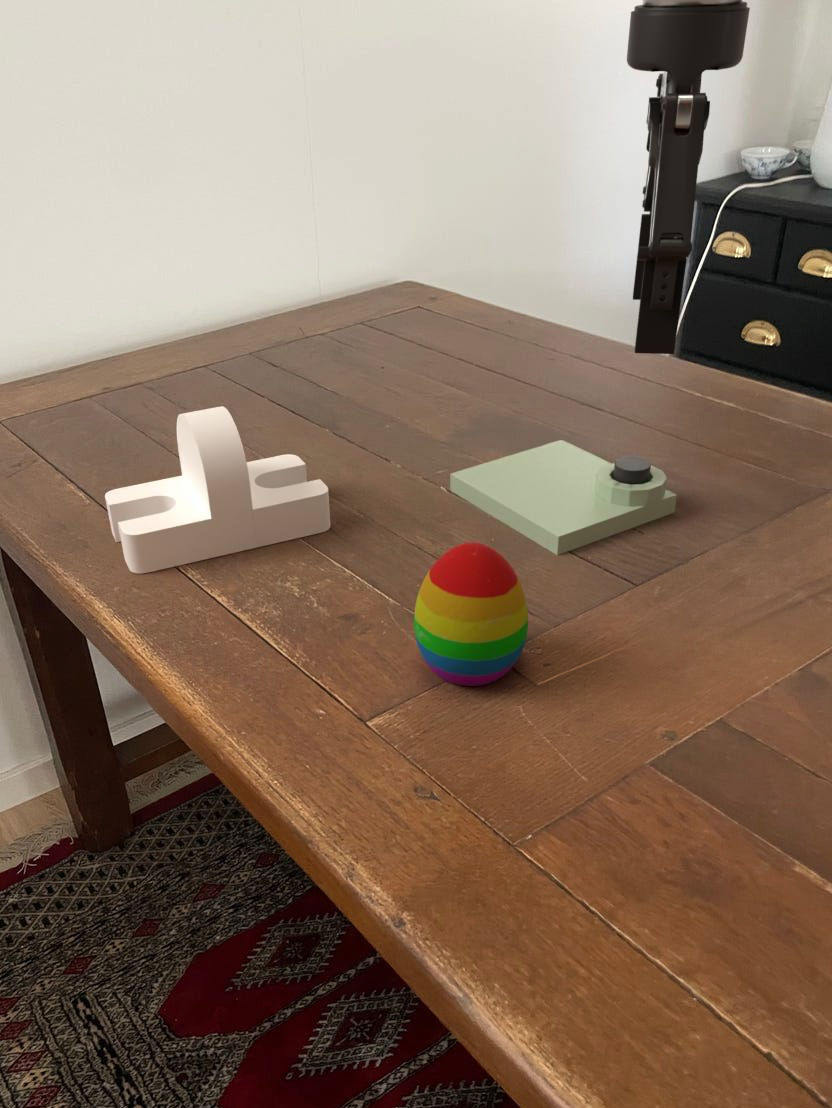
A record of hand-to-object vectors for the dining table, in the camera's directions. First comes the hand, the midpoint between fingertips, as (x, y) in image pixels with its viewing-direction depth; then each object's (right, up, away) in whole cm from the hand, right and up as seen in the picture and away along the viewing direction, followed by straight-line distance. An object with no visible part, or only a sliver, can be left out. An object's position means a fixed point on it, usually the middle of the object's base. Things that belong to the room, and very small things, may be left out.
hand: (651, 324), depth 79 cm
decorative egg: (-14, -26, -3) cm, 30 cm away
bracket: (-35, -14, +17) cm, 42 cm away
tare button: (+2, -10, +15) cm, 18 cm away
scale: (-3, -11, +19) cm, 22 cm away
